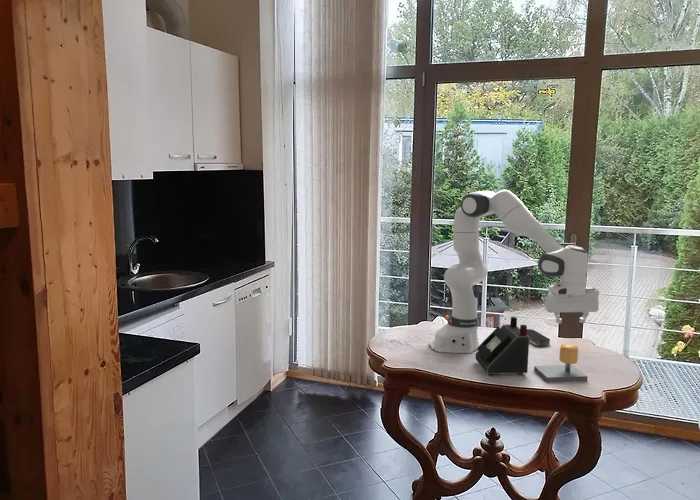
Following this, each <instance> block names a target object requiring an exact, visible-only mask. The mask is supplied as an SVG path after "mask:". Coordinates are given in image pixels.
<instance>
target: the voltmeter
mask: <svg viewBox="0 0 700 500" xmlns="http://www.w3.org/2000/svg"><path fill="white" fill-rule="evenodd" d="M509 323H510V324H502V326H501V327H499V326H497V327H496V328H495V329H494V330H493V331H492V332H491V333H490V334H489V335H488V336H487V337H486V338H485V339H484V340H483V341H482V342H481V343H480V344H479V347H478V348H477V350H476V353H475V361H476V362H477V363H478V364H479V366H480V367H481V368H482V369H483V370H484V372H485V373H486V374H487V376H489V377H493V376H494V375H495V374H498V375H499V374H517V376H523V374H528V370H529V368H528V366H529V353H530V352H529V351H530V350H529V349H530V342H529V336H528V335H527V329H528V328H527V327H528V326H527V324H520V327H519V326H518V324H517V323H518V318H517V317H515V316H511V317H510V322H509Z"/></svg>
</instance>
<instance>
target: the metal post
mask: <svg viewBox="0 0 700 500" xmlns="http://www.w3.org/2000/svg"><path fill="white" fill-rule="evenodd" d="M564 365H565V371H567V372H570V368H571V365H572V364H567V363H564Z"/></svg>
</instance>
